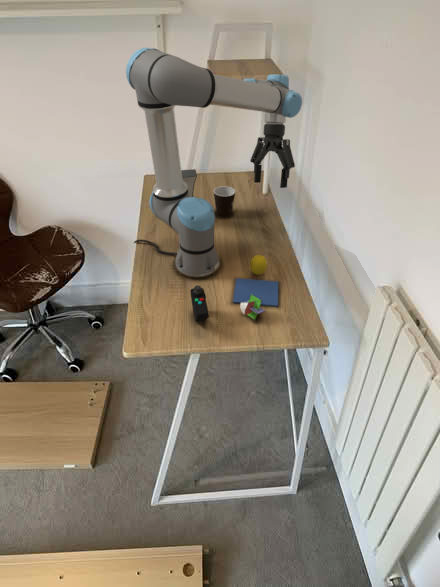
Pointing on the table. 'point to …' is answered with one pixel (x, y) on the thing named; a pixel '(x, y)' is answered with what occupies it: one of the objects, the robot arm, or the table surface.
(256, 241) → the table surface
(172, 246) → the table surface
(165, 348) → the table surface
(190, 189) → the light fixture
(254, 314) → the geometric puzzle
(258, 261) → the lemon
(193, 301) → the controller
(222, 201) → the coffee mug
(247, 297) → the blue mat
